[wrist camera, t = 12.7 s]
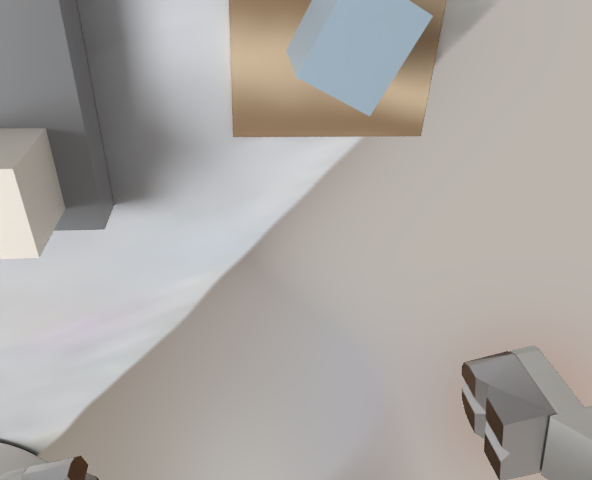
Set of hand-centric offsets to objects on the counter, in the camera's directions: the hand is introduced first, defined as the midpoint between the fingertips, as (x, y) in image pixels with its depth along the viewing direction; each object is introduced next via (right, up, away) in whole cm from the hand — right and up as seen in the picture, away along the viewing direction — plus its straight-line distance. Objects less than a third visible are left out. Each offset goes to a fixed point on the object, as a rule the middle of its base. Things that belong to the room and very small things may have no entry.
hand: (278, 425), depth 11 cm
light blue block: (+3, +16, +17) cm, 24 cm away
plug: (-15, +9, +19) cm, 26 cm away
